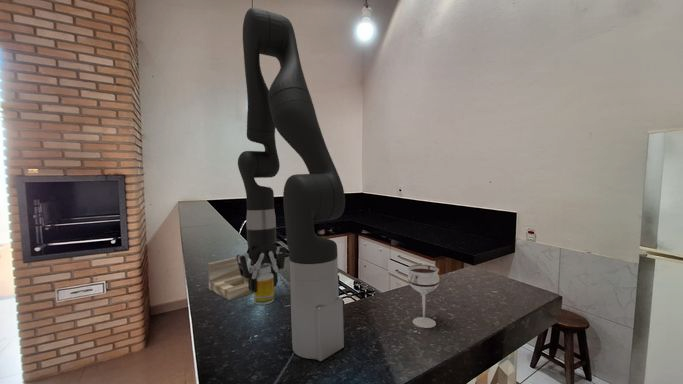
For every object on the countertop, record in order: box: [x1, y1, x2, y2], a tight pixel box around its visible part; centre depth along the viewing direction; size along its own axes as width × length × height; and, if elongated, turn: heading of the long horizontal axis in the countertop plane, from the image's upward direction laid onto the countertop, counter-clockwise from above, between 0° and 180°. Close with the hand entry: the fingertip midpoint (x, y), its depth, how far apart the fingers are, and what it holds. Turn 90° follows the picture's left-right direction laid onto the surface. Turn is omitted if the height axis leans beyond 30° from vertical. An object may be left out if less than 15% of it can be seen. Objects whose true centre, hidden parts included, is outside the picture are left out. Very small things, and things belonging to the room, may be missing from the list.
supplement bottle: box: [253, 264, 275, 306], centre depth 80 cm, size 5×5×10 cm
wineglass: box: [407, 264, 440, 329], centre depth 65 cm, size 7×7×12 cm
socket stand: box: [207, 256, 254, 301], centre depth 90 cm, size 14×12×8 cm
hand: (263, 288), depth 80 cm, fingers closed on supplement bottle, 5 cm apart
